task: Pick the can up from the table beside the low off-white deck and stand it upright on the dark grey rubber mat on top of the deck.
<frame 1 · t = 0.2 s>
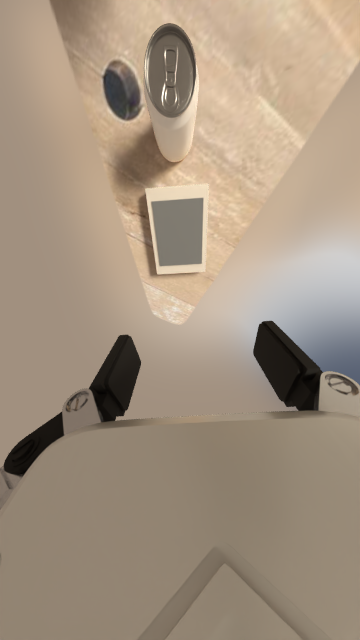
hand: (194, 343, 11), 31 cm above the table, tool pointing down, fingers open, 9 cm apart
can: (174, 137, 25), on the table
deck: (179, 235, 33), on the table
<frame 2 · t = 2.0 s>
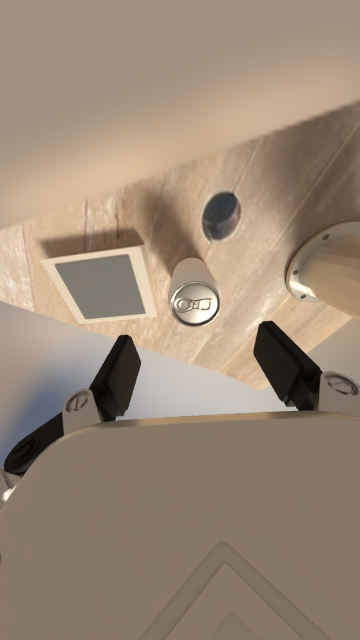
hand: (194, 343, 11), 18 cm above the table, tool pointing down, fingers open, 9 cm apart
can: (190, 275, 26), on the table
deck: (112, 285, 27), on the table
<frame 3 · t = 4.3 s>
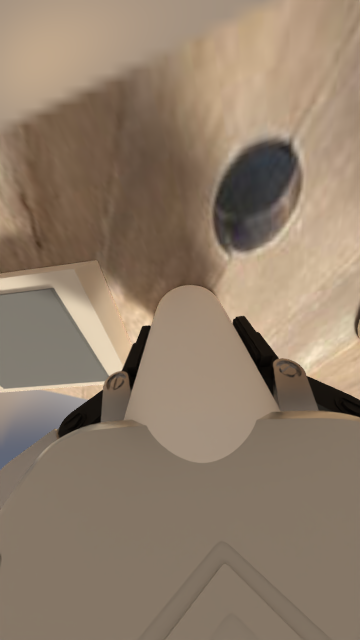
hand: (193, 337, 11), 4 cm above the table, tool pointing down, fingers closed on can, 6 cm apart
can: (188, 313, 14), on the table, touching gripper
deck: (50, 329, 15), on the table
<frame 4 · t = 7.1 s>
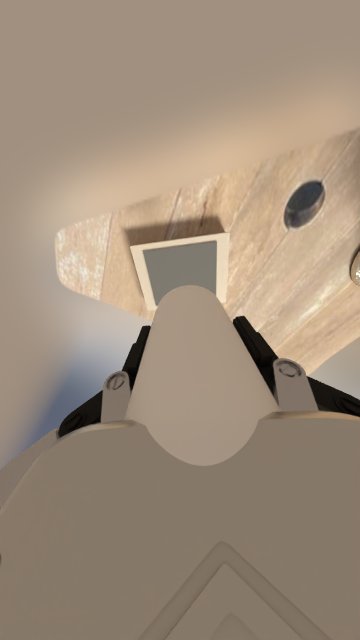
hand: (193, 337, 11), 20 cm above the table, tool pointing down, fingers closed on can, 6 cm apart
can: (188, 313, 14), point 16 cm above the table, touching gripper
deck: (182, 273, 28), on the table
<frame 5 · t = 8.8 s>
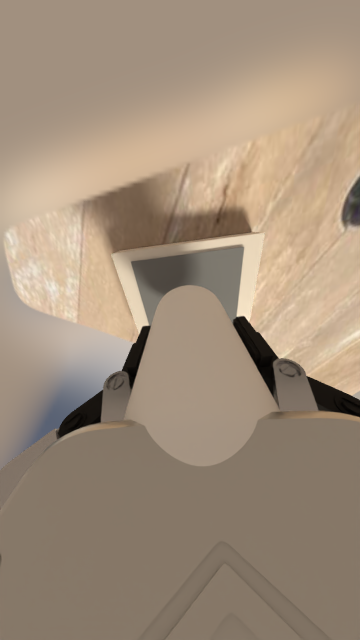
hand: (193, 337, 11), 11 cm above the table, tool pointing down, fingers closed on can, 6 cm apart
can: (188, 313, 14), point 7 cm above the table, touching gripper
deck: (188, 288, 20), on the table
when the fingers open (8 cm above the table, at t = 10.2 s): can drops 1 cm, resting on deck.
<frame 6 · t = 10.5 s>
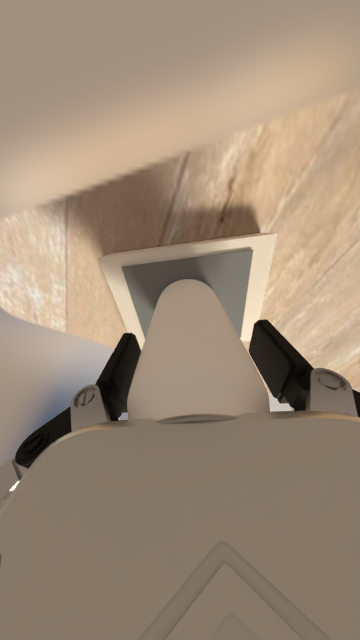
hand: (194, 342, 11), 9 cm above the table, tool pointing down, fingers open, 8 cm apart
can: (187, 306, 16), point 3 cm above the table, touching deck
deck: (188, 295, 18), on the table
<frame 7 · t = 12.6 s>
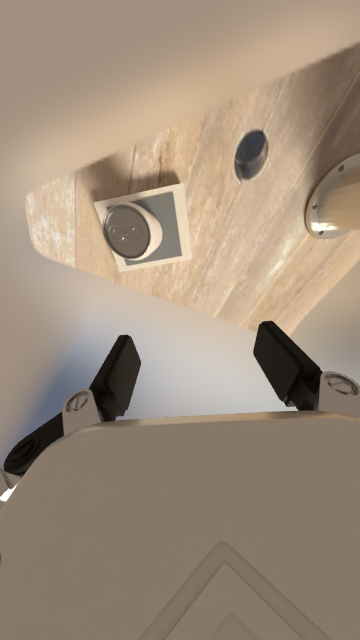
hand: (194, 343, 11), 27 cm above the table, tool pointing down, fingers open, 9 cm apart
can: (145, 233, 27), point 3 cm above the table, touching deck
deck: (149, 233, 30), on the table
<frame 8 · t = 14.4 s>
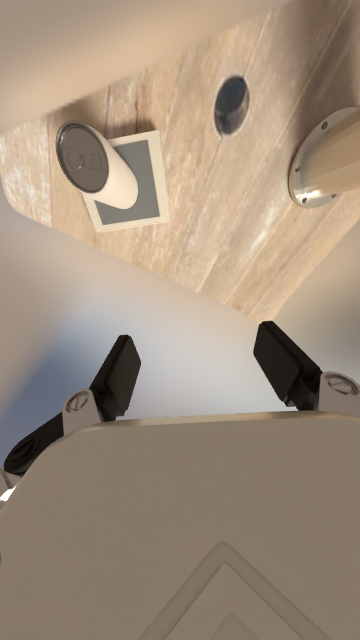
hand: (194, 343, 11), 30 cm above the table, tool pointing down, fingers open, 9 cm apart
can: (121, 187, 26), point 3 cm above the table, touching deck
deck: (128, 191, 29), on the table
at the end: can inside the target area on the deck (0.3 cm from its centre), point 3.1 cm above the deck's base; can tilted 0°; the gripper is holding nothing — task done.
